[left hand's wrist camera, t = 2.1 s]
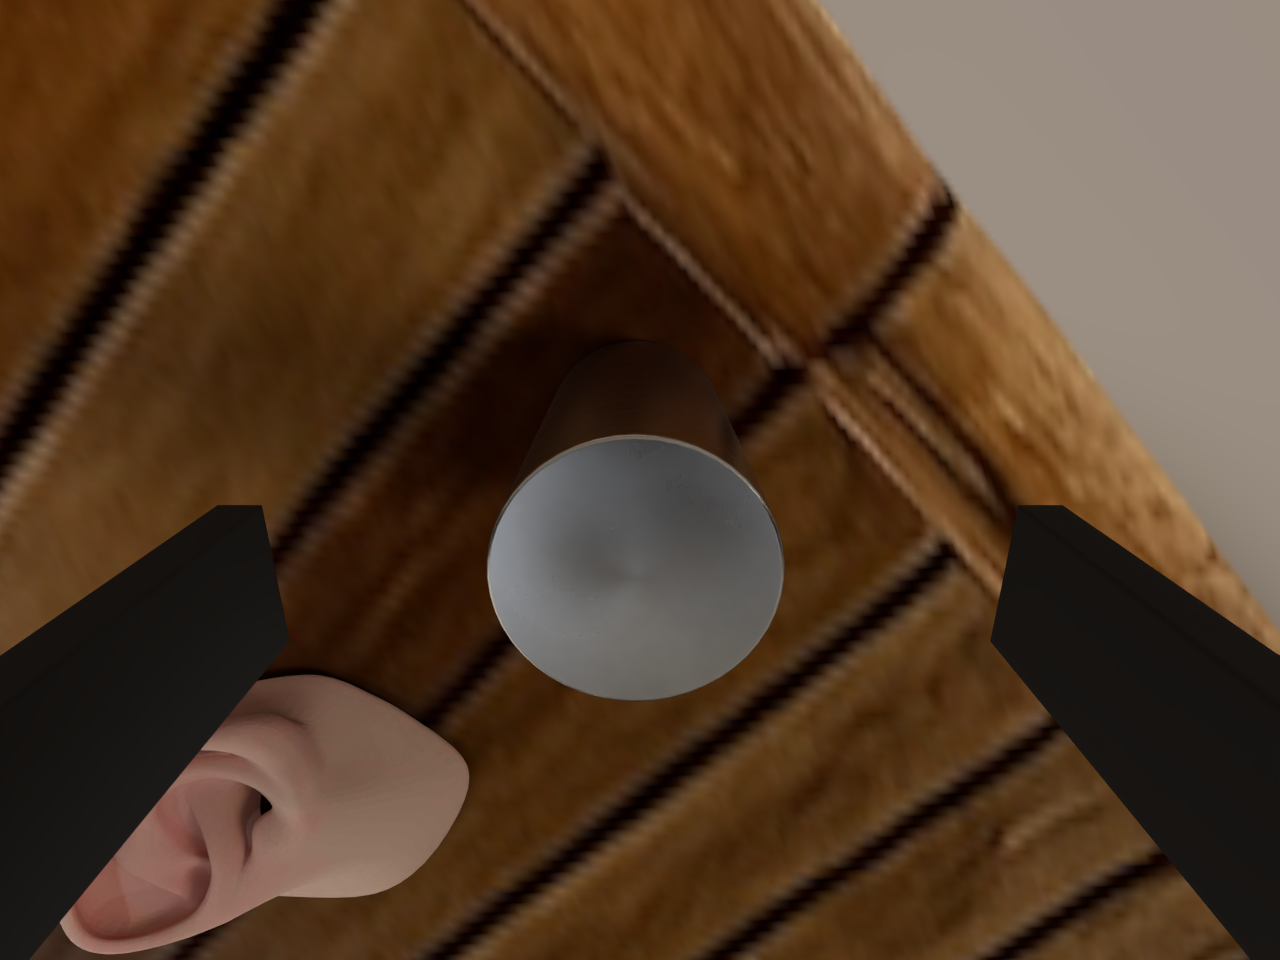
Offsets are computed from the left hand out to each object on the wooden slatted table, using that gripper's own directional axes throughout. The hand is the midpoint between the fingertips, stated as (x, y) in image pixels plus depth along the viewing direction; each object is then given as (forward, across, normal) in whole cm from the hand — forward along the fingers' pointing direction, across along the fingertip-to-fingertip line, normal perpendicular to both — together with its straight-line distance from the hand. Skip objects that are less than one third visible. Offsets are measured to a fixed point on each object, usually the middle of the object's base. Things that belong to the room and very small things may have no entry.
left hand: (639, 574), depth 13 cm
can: (+11, 0, 0) cm, 11 cm away
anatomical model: (+10, +14, +15) cm, 23 cm away
